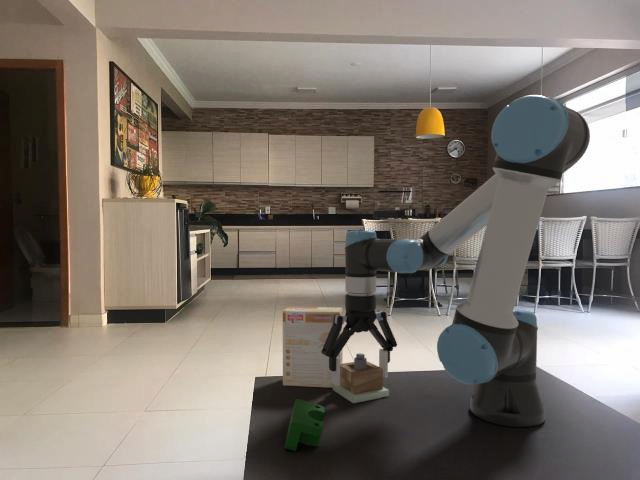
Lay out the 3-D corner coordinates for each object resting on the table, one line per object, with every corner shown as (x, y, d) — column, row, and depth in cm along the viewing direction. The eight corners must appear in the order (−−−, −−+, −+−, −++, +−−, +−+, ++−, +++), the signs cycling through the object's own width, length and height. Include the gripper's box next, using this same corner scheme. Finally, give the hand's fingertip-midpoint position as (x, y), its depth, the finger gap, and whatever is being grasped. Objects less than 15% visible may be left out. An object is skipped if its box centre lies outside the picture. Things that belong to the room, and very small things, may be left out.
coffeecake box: (343, 379, 124) (343, 307, 124) (340, 389, 117) (340, 311, 117) (288, 377, 126) (288, 305, 126) (282, 386, 119) (282, 310, 119)
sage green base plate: (388, 396, 112) (389, 357, 112) (353, 403, 108) (353, 362, 107) (366, 383, 121) (366, 347, 121) (332, 389, 116) (332, 352, 116)
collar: (382, 389, 113) (382, 368, 112) (354, 394, 109) (354, 373, 109) (365, 379, 120) (365, 360, 120) (337, 384, 116) (337, 364, 116)
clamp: (311, 472, 86) (322, 437, 82) (280, 463, 86) (289, 428, 82) (319, 422, 97) (329, 389, 93) (291, 415, 97) (300, 382, 93)
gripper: (393, 288, 123) (393, 368, 123) (307, 294, 111) (307, 382, 112) (411, 292, 116) (410, 376, 116) (322, 299, 105) (321, 392, 105)
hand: (360, 380), depth 114 cm, fingers open, 13 cm apart
